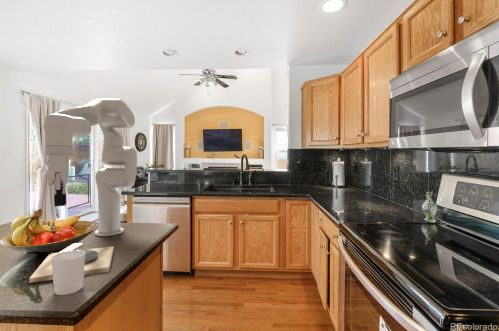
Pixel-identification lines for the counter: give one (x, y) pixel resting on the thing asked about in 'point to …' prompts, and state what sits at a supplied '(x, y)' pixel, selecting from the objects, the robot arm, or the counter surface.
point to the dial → (89, 254)
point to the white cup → (68, 271)
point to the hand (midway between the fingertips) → (60, 205)
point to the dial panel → (95, 266)
